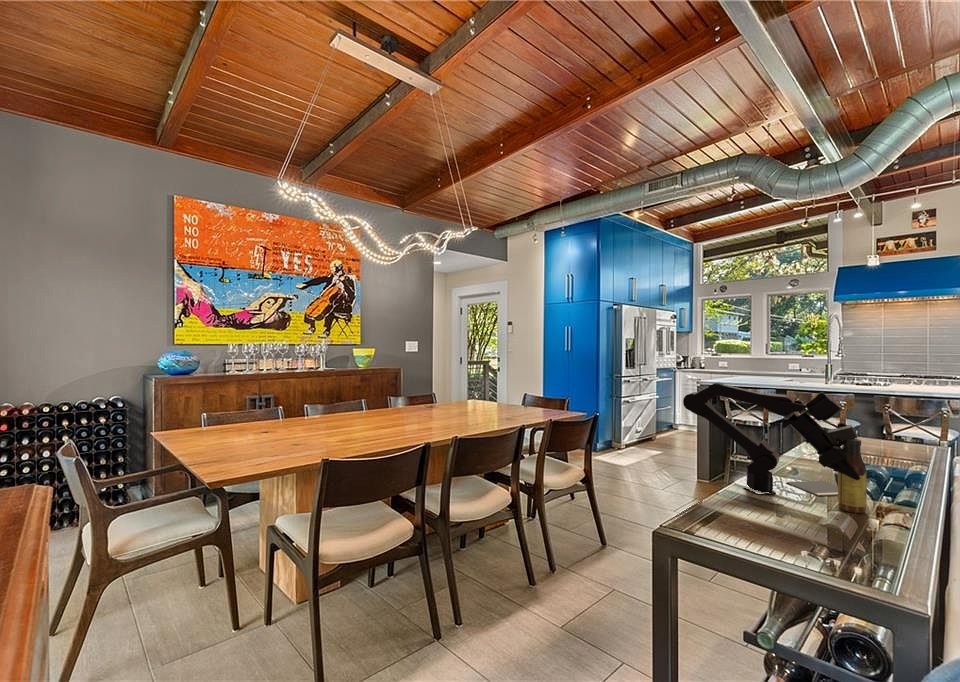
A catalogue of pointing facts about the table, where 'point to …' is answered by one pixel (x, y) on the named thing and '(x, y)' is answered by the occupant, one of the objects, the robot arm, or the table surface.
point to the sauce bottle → (853, 480)
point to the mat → (817, 487)
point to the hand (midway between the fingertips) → (858, 476)
